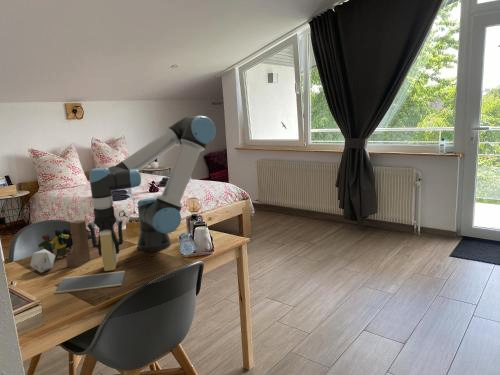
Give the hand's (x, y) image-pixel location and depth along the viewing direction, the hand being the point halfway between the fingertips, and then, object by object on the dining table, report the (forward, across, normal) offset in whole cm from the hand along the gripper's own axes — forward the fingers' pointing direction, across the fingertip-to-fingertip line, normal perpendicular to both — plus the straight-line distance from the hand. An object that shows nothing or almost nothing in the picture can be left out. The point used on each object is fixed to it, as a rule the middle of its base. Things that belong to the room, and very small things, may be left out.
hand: (110, 261), depth 162 cm
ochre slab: (+2, 0, 0) cm, 2 cm away
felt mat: (+2, +5, +13) cm, 14 cm away
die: (+3, +27, -6) cm, 28 cm away
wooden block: (+3, +14, -9) cm, 17 cm away
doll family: (+3, +22, -24) cm, 33 cm away
